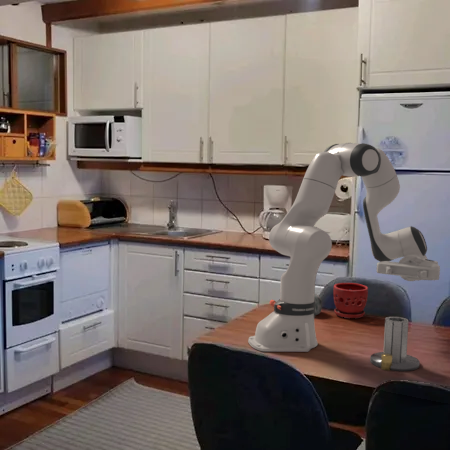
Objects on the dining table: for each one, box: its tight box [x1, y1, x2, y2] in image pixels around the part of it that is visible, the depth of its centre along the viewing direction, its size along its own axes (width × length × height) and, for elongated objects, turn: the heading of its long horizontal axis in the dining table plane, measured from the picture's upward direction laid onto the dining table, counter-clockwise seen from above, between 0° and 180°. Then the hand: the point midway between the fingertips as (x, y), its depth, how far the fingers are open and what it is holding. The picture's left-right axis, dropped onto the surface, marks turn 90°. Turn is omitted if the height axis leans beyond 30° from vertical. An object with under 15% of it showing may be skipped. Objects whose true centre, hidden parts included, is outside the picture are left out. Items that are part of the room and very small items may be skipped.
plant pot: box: [332, 282, 369, 319], centre depth 231 cm, size 13×13×12 cm
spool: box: [314, 293, 323, 316], centre depth 235 cm, size 14×10×10 cm
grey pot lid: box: [369, 351, 420, 372], centre depth 176 cm, size 14×14×5 cm
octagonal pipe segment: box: [382, 316, 409, 363], centre depth 175 cm, size 6×6×12 cm
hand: (404, 273), depth 192 cm, fingers open, 8 cm apart
